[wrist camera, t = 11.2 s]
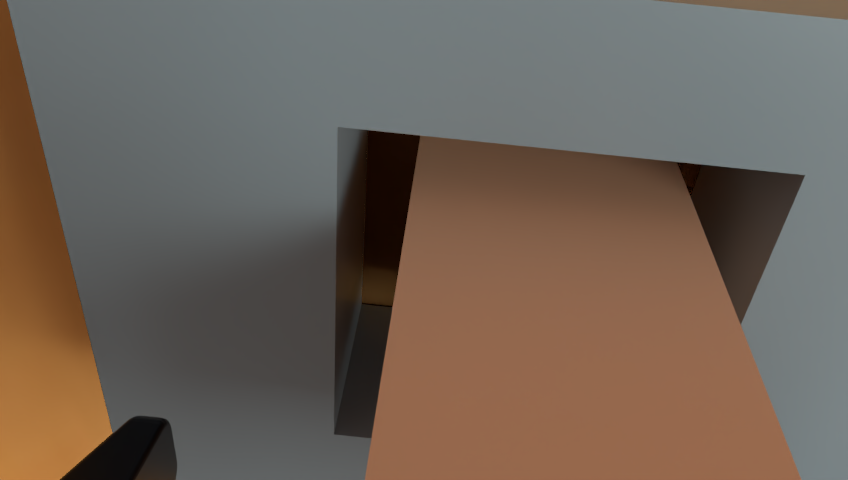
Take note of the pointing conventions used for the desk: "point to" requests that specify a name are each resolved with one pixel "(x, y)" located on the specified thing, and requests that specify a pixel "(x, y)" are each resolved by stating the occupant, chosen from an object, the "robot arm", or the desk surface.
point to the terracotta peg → (564, 328)
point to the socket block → (346, 188)
